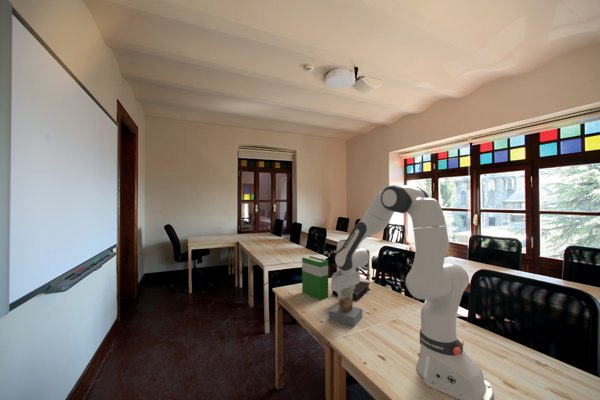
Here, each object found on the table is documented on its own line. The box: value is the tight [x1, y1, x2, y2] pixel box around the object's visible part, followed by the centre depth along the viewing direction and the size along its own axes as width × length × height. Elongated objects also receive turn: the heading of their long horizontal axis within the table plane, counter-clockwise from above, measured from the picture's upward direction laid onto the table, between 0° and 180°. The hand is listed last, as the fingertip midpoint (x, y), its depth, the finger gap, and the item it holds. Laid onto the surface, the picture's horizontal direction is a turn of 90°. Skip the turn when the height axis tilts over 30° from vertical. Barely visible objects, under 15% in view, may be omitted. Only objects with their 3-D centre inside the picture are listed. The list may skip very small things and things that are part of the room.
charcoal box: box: [328, 302, 363, 328], centre depth 128 cm, size 14×12×5 cm
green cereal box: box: [301, 255, 329, 301], centre depth 160 cm, size 18×7×24 cm, turn 39°
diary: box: [331, 280, 371, 302], centre depth 165 cm, size 19×25×5 cm
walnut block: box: [338, 296, 353, 313], centre depth 128 cm, size 5×5×6 cm
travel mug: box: [340, 287, 352, 298], centre depth 147 cm, size 8×8×18 cm
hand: (345, 295), depth 127 cm, fingers open, 8 cm apart
